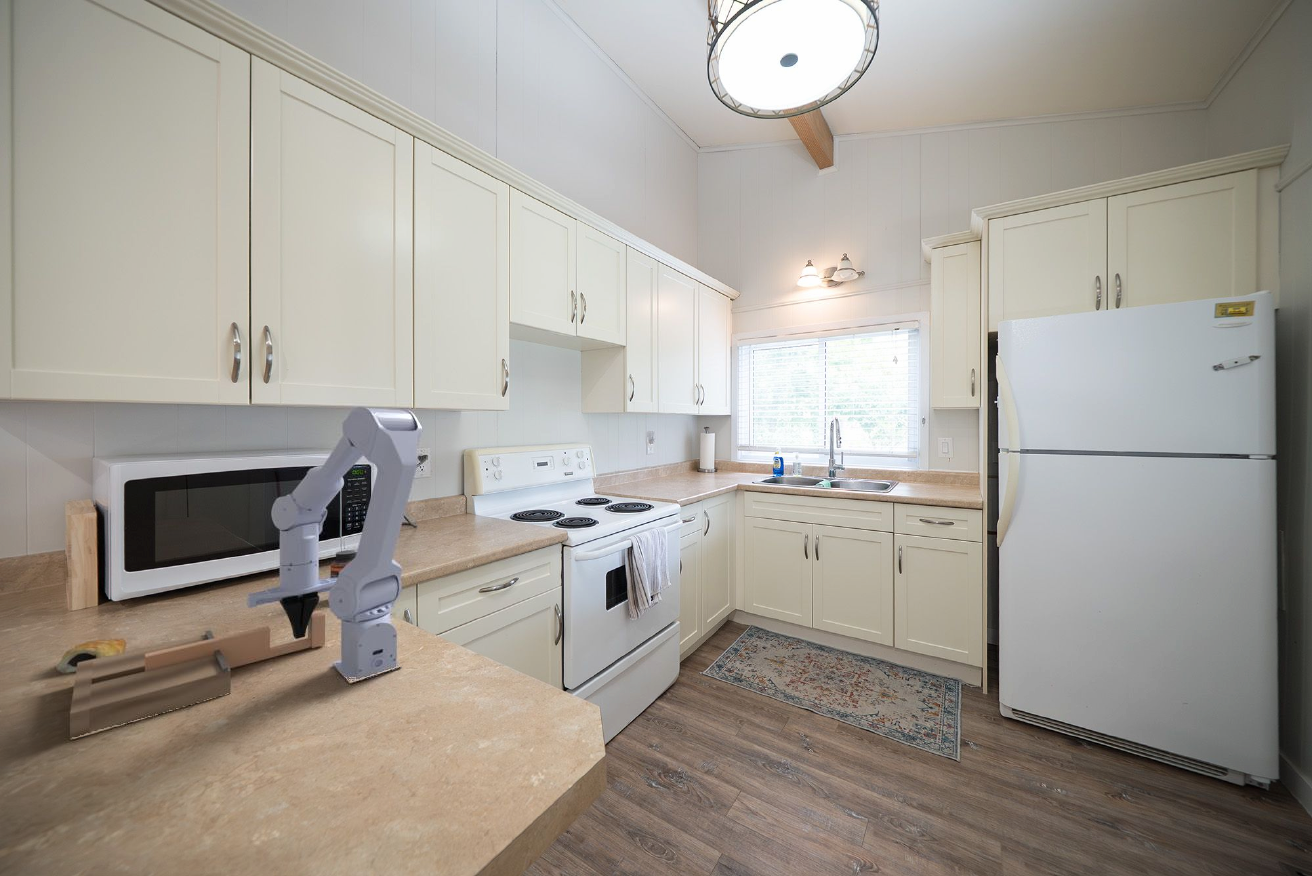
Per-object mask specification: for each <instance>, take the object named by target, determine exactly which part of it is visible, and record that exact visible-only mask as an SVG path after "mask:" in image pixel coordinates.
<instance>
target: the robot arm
mask: <svg viewBox="0 0 1312 876" xmlns="http://www.w3.org/2000/svg"><path fill="white" fill-rule="evenodd" d="M422 432H423V427H422V425H421V423H420V422H419V420H418V418H417V416H416V414H414V412H413V411H411V410H409V409H405V408H404V409H389V408H388V409H387V408H375V407H374V408H373V407H372V408H371V407H370V408H369V407H366V406H357V407H354V408H353V409H352V410H351V411H350V412H349V413H348V416H347V418H346V419H344V421H343V422H342V437H341V438H340V440H339V441H338V443H337V444H336V446H335V447H334V449H333V450H332V452H331V453H330V455H329V456H328V457H327V459H326V461H325V462H324V463H323V465H318V466H314V467H313V468H310V469H309V470H308V471H306V475H305V477H304V478H303V479H302V480H300V482H299V484H298V485H297V487H295V489H293V491H292V493H290V494H287V495H284V496H279V497H278V498H276V499H275V501H274V503H273V505H272V508H271V515H270V516H271V519H272V522H273V524H274V526H275V528H277V529H278V530H279V586H276V587H272V588H268V589H265V590H259V591H255V592H252V593H247V594H246V605H247V607H248V608H249V609H250V608H256V607H257V606H260V605H266V604H271V603H276V602H279V603H280V605H281V607H282V608H283V610H284V612H285V614H286V616H287V618H288V620H289V623H290V627H291V629H292V635H293V637H294V639H295V640H298V639H302V638H306V632H307V630H308V622H309V620H310V617H311V615H312V613H313V612H315V609H316V608H317V606H318V604H319V602H320V595H319V594H321V593H326V592H329V593H328V601H327V602H328V606H329V609H330V611H331V613H332V614H333V615H334V616H335V617H336V618H337V620H339V621H340V620H341V623H340V624H341V625H340V627H341V629H340V631H341V632H340V633H341V635H340V637H341V639H340V640H341V641H340V644H341V645H340V655H341V656H340V659H339V660H335V661H334V662H332V666H333V665H334V666H335V667H336V668H337V669H336V668H335V667H334V666H333V667H334V668H335V669H336V671H337V670H339V672H341V674H343V676H345V677H347V679H348V680H349V679H355V678H349V677H356V679H360V678H362V677H367V676H370V675H372V674H377V673H378V672H382V671H384V670H388V669H391V668H394V667H396V666H397V660H398V659H397V658H398V654H397V653H398V651H397V649H398V634H397V629H396V627H395V626H394V625H393V623H392V622H391V610H392V609H394V608H395V602H396V601H397V600H398V599H399V597H400V596H401V593H402V587H403V586H402V581H401V580H402V572H403V567H402V566H401V564H399V563H398V562H397V561H396V560H395V559H394V555H395V551H396V547H397V544H398V539H399V536H400V531H401V529H402V526H403V525H402V524H403V520H404V517H405V514H406V509H407V506H408V505H407V504H408V503H409V498H410V495H411V492H412V491H411V490H412V486H413V483H414V479H415V475H416V471H417V469H418V448H419V443H420V441H421V440H420V439H421V436H422ZM363 456H364V458H365V459H366V460H367V461H368V462H369V463H372V464H374V465H375V467H376V468H377V472H376V477H375V480H374V484H373V488H372V491H371V495H370V501H369V502H368V503H369V504H368V507H367V511H366V516H365V518H364V524H363V528H362V531H361V533H360V534H361V535H360V539H359V543H358V547H357V550H356V556H355V558H354V559H353V560H352V561H351V562H350V563H349V564H348V565H346V566H345V567H344V568H343V569H342V570H341V571H340V572H339V575H338V578H330V577H329V578H322V579H319V570H320V569H319V562H320V561H319V558H320V557H319V556H320V554H319V552H320V551H319V546H320V542H319V539H320V538H319V535H320V534H321V533H322V532H323V525H324V521H326V518H327V515H328V509H326V508H327V507H328V505H329V504H330V503H331V502H332V500H334V498H335V497H336V495H337V494H338V493H339V492H340V491H341V490H342V488H343V487H344V485H345V481H344V478H343V477H344V476H345V475H346V474H347V473H348V472H349V471H350V469H352V468H353V466H355V464H356V463H357V462H358V461H360V460H361V458H362V457H363ZM399 666H400V665H399ZM339 672H338V673H339ZM341 674H340V675H341ZM343 676H342V677H343ZM349 681H350V680H349ZM352 681H354V680H352Z"/></svg>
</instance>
